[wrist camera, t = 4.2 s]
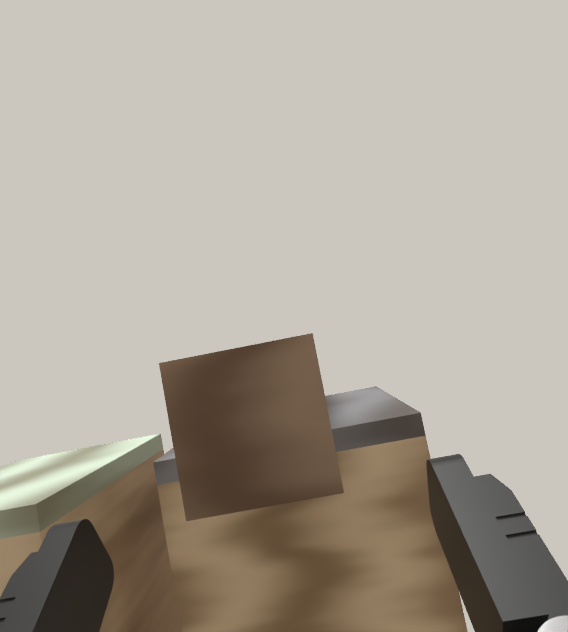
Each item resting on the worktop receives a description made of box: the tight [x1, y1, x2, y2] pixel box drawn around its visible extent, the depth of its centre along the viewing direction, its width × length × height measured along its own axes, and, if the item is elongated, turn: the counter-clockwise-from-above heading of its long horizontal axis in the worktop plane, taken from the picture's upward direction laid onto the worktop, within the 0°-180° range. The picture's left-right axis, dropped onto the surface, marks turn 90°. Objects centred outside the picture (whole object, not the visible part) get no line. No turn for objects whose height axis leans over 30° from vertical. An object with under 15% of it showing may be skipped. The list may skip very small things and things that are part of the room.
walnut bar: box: [159, 334, 344, 521], centre depth 24 cm, size 4×24×4 cm, turn 176°
